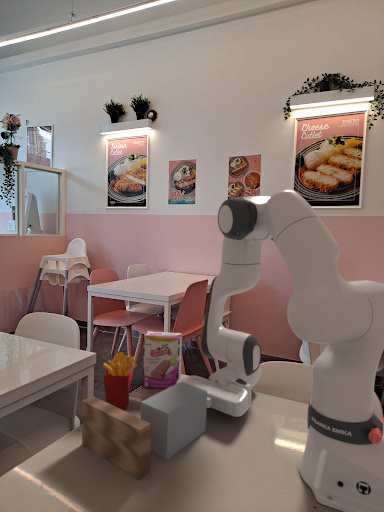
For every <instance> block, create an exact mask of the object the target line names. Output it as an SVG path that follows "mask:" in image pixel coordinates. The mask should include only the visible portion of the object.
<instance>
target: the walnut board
mask: <svg viewBox="0 0 384 512" xmlns="http://www.w3.org/2000/svg"><path fill="white" fill-rule="evenodd" d="M81 417H82V418H81V441H82V442H81V443H82V445H83V446H84V447H85V448H87V449H89V450H90V451H91V452H93V453H95V454H97V455H99V456H100V457H101V458H103V459H105V460H106V461H108V462H109V463H111V464H112V465H114V466H116V467H118V468H119V469H121V470H122V471H124V472H125V473H127V474H128V475H130V476H132V477H134V478H135V479H137V480H138V481H140V480H141V479H142V478H144V477H145V476H147V475H148V474H149V473H151V451H150V444H151V423H148V422H146V421H144V420H142V419H141V417H139V416H138V417H137V416H136V415H134V414H132V413H129V412H128V411H126V410H125V411H123V410H121V409H119V408H117V407H115V406H113V405H111V404H109V403H107V402H106V400H102V399H100V398H98V397H97V396H94V395H92V396H91V397H88V398H86V399H83V400H81Z"/></svg>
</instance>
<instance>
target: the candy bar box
mask: <svg viewBox="0 0 384 512" xmlns="http://www.w3.org/2000/svg"><path fill="white" fill-rule="evenodd" d="M182 338H183V334H182V333H180V332H166V331H164V332H163V331H154V330H153V331H151V330H147V331H146V332H145V333H144V335H143V350H142V351H143V352H142V353H143V355H142V357H143V359H142V361H143V362H142V388H144V389H145V388H146V389H148V388H149V389H150V388H151V389H161V390H165V389H167V388H169V387H171V386H173V385H175V384H176V382H177V381H178V380H180V379H182V376H181V375H182V374H181V372H182V371H181V370H182V369H181V368H182V347H183V345H182V344H183V343H182V342H183V341H182V340H183V339H182Z"/></svg>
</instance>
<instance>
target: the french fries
mask: <svg viewBox="0 0 384 512" xmlns="http://www.w3.org/2000/svg"><path fill="white" fill-rule="evenodd" d="M135 360H136V358H135V357H134V356H131V355H125V354H124V352H123V351H119V352H116V353H115V355H114V357H113V359H112V360H110V359H108V360H107V362H108V363H106V362H103V365H102V367H103V368H104V369H106V371H105V372H104V374H103V387H104V395H105V397H104V398H105V402H107V403H109V404H111V405H113V406H115V407H117V408H119V409H121V410H123V411H126V410H127V408H128V406H129V401H130V400H129V399H130V392H131V382H132V371H133V370H134V369H135V368H136V367H137V366H138V365H137V364H136V363H134V362H135ZM132 364H133V365H132Z"/></svg>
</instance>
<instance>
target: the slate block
mask: <svg viewBox="0 0 384 512" xmlns="http://www.w3.org/2000/svg"><path fill="white" fill-rule="evenodd" d="M206 406H207V391H206V390H203V389H200V388H197V387H195V386H192V385H189V384H186V383H183V382H179V383H177V384H175V385H173V386H171V387H169V388H167V389H162V390H161V391H160V392H157V393H155V394H154V395H151V396H150V397H147V398H146V399H144V400H141V401H140V419H142V420H144V421H146V422H148V423H151V444H150V452H152V453H153V454H155V455H157V456H159V457H161V458H163V459H165V460H166V461H168V460H169V459H170V458H171V457H173V456H174V455H175V454H177V453H178V452H179V451H181V450H182V449H183V448H185V447H186V446H188V445H189V444H190V443H192V442H193V441H194V440H196V439H198V437H200V436H202V435H203V434H204V433H205V432H206V430H207V408H206Z"/></svg>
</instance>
